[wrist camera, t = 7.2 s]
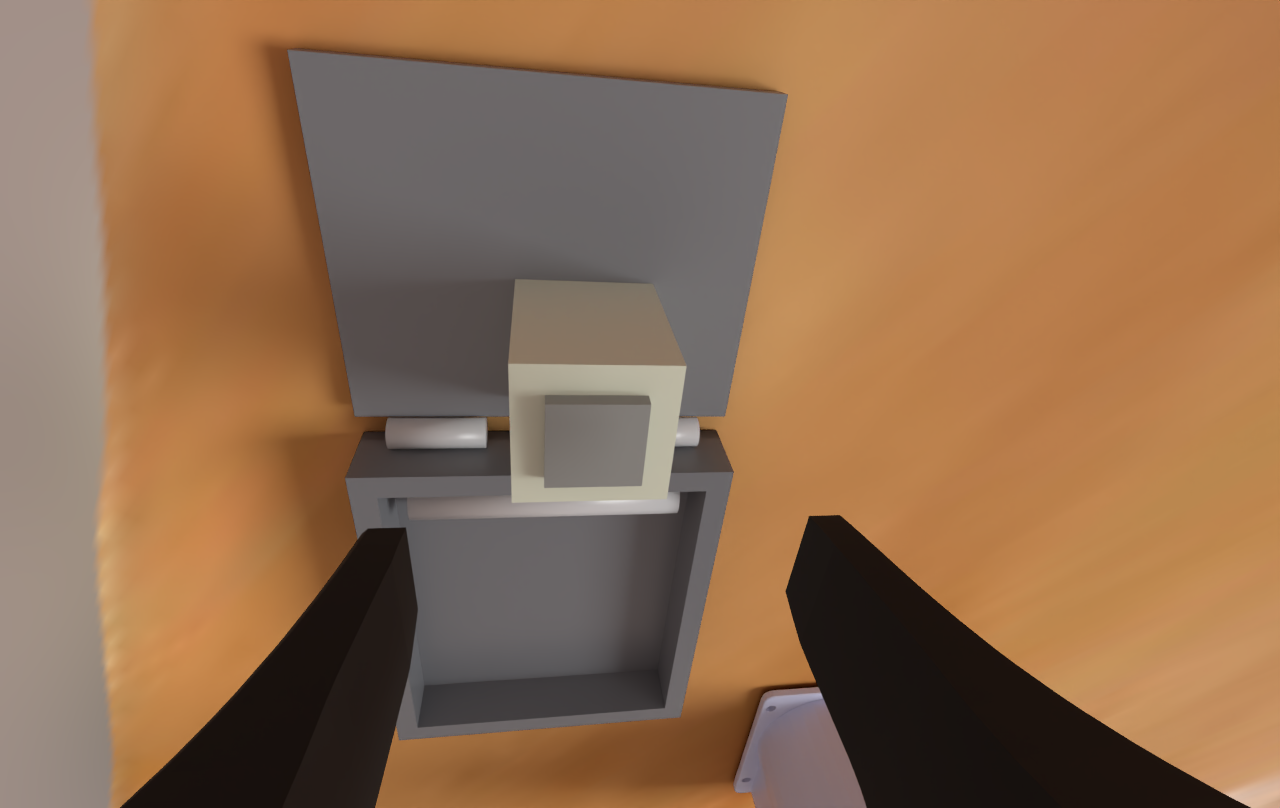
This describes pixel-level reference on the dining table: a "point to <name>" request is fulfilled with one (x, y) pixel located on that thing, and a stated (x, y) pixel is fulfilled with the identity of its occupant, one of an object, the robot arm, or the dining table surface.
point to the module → (591, 392)
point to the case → (543, 588)
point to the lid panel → (523, 220)
